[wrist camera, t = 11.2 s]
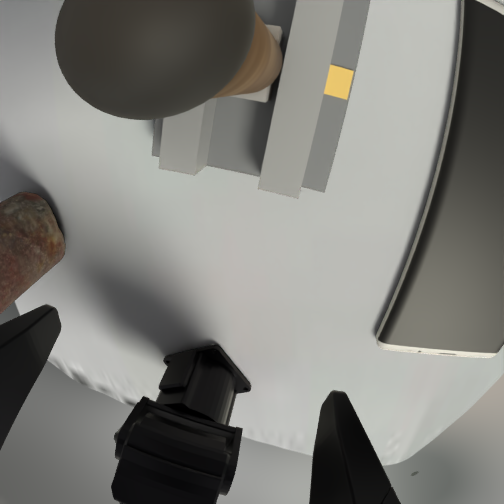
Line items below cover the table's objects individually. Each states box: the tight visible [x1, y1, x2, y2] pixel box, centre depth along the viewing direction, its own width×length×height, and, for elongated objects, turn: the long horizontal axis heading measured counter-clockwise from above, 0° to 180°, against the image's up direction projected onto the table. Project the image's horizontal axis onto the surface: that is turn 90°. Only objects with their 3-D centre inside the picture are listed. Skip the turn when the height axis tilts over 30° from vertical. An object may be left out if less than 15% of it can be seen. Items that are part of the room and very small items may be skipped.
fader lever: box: [55, 0, 284, 120], centre depth 8 cm, size 4×4×13 cm
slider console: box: [152, 0, 370, 199], centre depth 13 cm, size 17×10×4 cm, turn 170°
